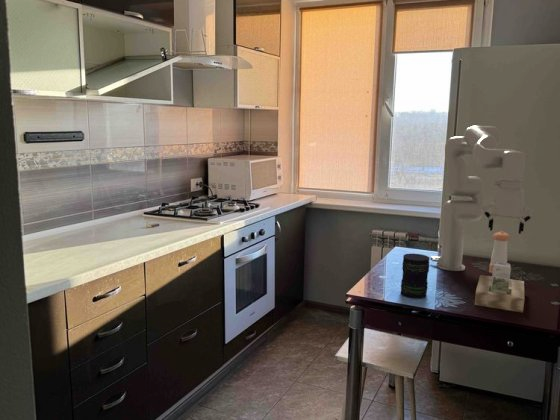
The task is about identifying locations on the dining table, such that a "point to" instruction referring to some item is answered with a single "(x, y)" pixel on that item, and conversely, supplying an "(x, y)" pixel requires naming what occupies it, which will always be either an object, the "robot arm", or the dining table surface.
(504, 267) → the syrup box
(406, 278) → the storage jar
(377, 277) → the dining table surface
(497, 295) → the socket block
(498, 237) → the salt shaker
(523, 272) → the dining table surface
